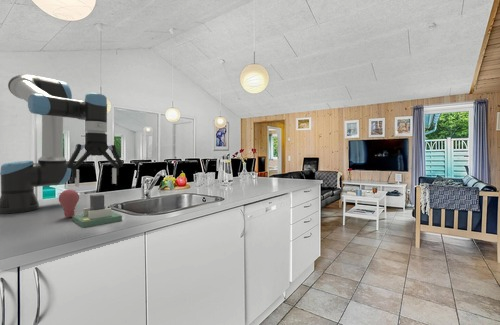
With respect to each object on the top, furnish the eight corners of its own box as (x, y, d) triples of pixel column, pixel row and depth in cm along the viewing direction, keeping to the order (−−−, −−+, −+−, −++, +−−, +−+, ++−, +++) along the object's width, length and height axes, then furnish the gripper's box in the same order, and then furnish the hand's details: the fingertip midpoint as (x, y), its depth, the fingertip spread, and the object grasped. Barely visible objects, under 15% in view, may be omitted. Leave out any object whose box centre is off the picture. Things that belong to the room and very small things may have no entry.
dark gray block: (90, 215, 105) (89, 194, 105) (100, 213, 108) (100, 193, 108) (93, 217, 102) (93, 196, 102) (104, 215, 105) (104, 195, 105)
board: (72, 220, 105) (72, 208, 105) (109, 214, 115) (109, 203, 115) (82, 227, 95) (82, 214, 95) (121, 220, 106) (121, 208, 105)
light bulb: (69, 220, 106) (68, 191, 105) (54, 219, 107) (54, 190, 107) (83, 216, 112) (83, 188, 112) (69, 215, 114) (69, 188, 113)
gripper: (60, 130, 92) (61, 188, 93) (131, 134, 110) (131, 183, 111) (56, 130, 97) (57, 186, 98) (124, 134, 116) (124, 181, 117)
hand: (96, 184), depth 105 cm, fingers open, 13 cm apart
